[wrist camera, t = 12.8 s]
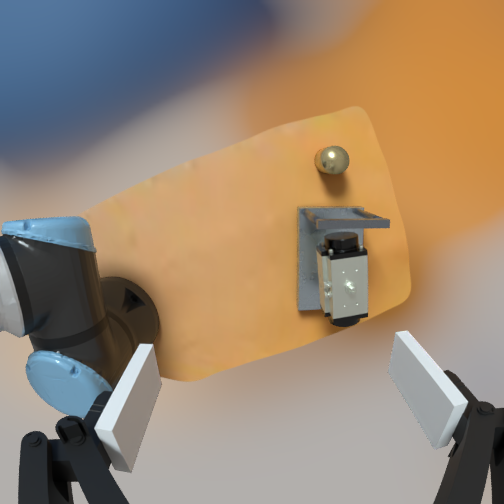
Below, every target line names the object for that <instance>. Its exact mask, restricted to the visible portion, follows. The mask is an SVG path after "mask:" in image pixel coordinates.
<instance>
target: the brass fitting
mask: <svg viewBox="0 0 504 504" xmlns="http://www.w3.org/2000/svg"><path fill="white" fill-rule="evenodd" d="M315 165H316V167H317V169H318V170H319V171H321V172H322V173H326V174H340V173H343V172H344V171H345V170H346V169H347V168H348V165H349V156H348V154H347V152H346V151H345V150H344V149H343V148H341V147H339V146H331V147H327V148H323V149H321V150H319V151H318V152H317V154H316V155H315Z"/></svg>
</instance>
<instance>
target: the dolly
mask: <svg viewBox="0 0 504 504" xmlns="http://www.w3.org/2000/svg"><path fill="white" fill-rule="evenodd" d="M364 218H365V219H364ZM363 228H390V220H389V219H387V218H381V217H379V216H376V215H374V214H371V213H369V212H366V211H364V208H363V207H360V206H318V207H297V308H298V310H315V309H321V308H320V293H319V277H318V264H317V251H316V246H319V243H322V242H324V236H325V235H327V234H330V233H334V232H354V233H357V234H358V239H359V245H363Z"/></svg>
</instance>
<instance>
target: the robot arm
mask: <svg viewBox="0 0 504 504" xmlns="http://www.w3.org/2000/svg"><path fill="white" fill-rule="evenodd" d="M1 232H2V234H3V236H0V332H1V331H7V332H9V333H11V334H13V335H15V336H17V337H19V338H20V337H23V336H25V335H27V334H28V335H29V338H30V340H31V343H32V346H33V349H34V352H33V353H32V354H31V355H30V356H29V357H28V361H27V364H26V374H27V378H28V380H29V382H30V384H31V386H32V387H33V389H34V390H35V392H36V393H37V394H38V395H39V396H40V397H41V398H42V399H43V400H44V401H45V402H46V403H48V404H49V405H51V406H52V407H54V408H55V409H56V410H58V411H60V412H62V413H64V414H67V415H69V416H66V417H64V418H62V419H60V420H59V421H58V422H57V424H56V427H55V428H56V432H57V434H58V436H59V438H60V439H53V440H48V438H47V437H46V435H45V434H44V433H42V432H40V431H33V432H30V433H28V434H26V435H25V436H24V437H23V439H22V442H21V451H20V465H19V490H18V491H19V492H18V504H74V502H73V495H72V487H71V482H79V484H80V486H81V488H82V491H83V493H84V495H85V497H86V499H87V501H88V503H89V504H129V503H128V501H127V499H126V498H125V496H124V495H123V493H122V491H121V490H120V488H119V486H118V485H117V483H116V482H115V480H114V478H113V476H112V475H111V473H110V471H109V466H110V464H111V463H112V465H113V467H114V469H115V470H119V471H124V472H130V473H131V472H132V469H133V466H134V463H135V460H136V457H137V454H138V451H139V448H140V445H141V442H142V439H143V437H144V433H145V431H146V428H147V425H148V422H149V419H150V416H151V413H152V411H153V408H154V405H155V402H156V399H157V397H158V394H159V391H160V388H161V385H162V383H161V379H160V374H159V370H158V365H157V360H156V356H155V351H154V346H153V342H154V340H155V338H156V336H157V333H158V329H159V318H158V313H157V310H156V307H155V305H154V303H153V302H152V300H151V298H150V297H149V296H148V294H147V293H146V292H145V291H144V290H143V289H142V288H140V287H139V286H138V285H136V284H135V283H133V282H131V281H129V280H127V279H124V278H120V277H105V278H102V279H100V276H99V271H98V265H97V260H96V254H95V253H96V252H97V251H96V248H94V244H93V239H92V234H91V228H90V225H89V223H88V222H87V221H86V220H85V219H84V218H81V217H75V216H73V217H52V218H38V219H26V220H16V221H7V222H4V223H3V225H2V231H1ZM388 373H389V375H390V377H391V378H392V380H393V382H394V383H395V385H396V386H397V388H398V390H399V391H400V393H401V394H402V396H403V398H404V399H405V401H406V403H407V404H408V406H409V408H410V409H411V411H412V413H413V414H414V416H415V417H416V419H417V421H418V423H419V424H420V426H421V428H422V429H423V431H424V433H425V434H426V436H427V437H428V439H429V441H430V443H431V445H432V446H433V448H434V449H438V448H441V447H444V446H447V445H448V444H449V442H450V440H451V438H452V437H453V438H454V440H455V441H456V442H455V444H454V446H453V448H452V450H451V452H450V453H449V455H448V457H450V459H449V462H448V465H447V468H446V471H445V474H444V477H443V480H442V482H441V485H440V488H439V491H438V493H437V496H436V498H435V501H434V503H433V504H481V500H482V496H483V492H484V488H485V484H486V479H487V474H488V469H489V464H490V469H491V485H492V504H504V408H495V407H494V406H493V405H492V404H490V403H488V402H483V401H481V402H479V401H478V400H477V399H476V397H475V396H474V395H473V394H472V393H471V392H470V390H469V389H468V388H467V387H466V386H465V385H464V383H462V382H461V380H460V379H459V378H458V377H457V376H456V374H454V373H452V372H450V371H449V370H446V371H442V370H441V369H440V367H439V366H438V365H437V364H436V363H435V362H434V360H433V359H432V358H431V357H430V356H429V355H428V353H426V351H425V350H424V349H423V348H422V347H421V345H420V344H419V343H418V342H417V341H416V340H415V339H414V338H413V336H412V335H411V334H410V333H409V332H408V331H401V332H396V333H395V338H394V344H393V350H392V354H391V359H390V364H389V369H388ZM82 418H84V420H82Z"/></svg>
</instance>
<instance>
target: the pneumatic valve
mask: <svg viewBox="0 0 504 504" xmlns="http://www.w3.org/2000/svg"><path fill="white" fill-rule="evenodd" d="M316 251H317V264H318V277H319V293H320V308H321V310H322V312H323V314H324V316H325V317H329V322H330V323H331V324H333V325H335V326H339V327H348V326H352V325H355V324H357V323H358V322H359V321H360V318H365V317H368V257H367V250H366V249H365V248H364V247H363V245H359V239H358V234H357V233H354V232H334V233H330V234H327V235H325V236H324V242H322V243H319V246H316Z"/></svg>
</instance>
